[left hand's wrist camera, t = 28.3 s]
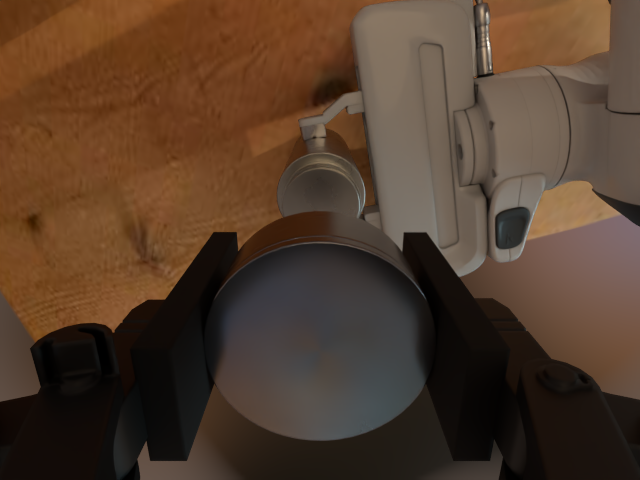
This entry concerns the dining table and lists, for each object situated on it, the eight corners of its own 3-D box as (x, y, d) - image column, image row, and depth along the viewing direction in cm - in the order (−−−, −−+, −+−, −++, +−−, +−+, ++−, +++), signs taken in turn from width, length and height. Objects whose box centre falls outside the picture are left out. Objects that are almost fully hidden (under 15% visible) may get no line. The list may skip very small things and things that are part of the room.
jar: (359, 169, 38) (385, 226, 22) (309, 195, 38) (301, 266, 23) (333, 117, 36) (342, 140, 21) (281, 145, 37) (254, 186, 22)
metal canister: (431, 219, 11) (458, 252, 9) (400, 386, 13) (416, 448, 11) (225, 201, 11) (201, 231, 9) (223, 373, 13) (203, 433, 11)
